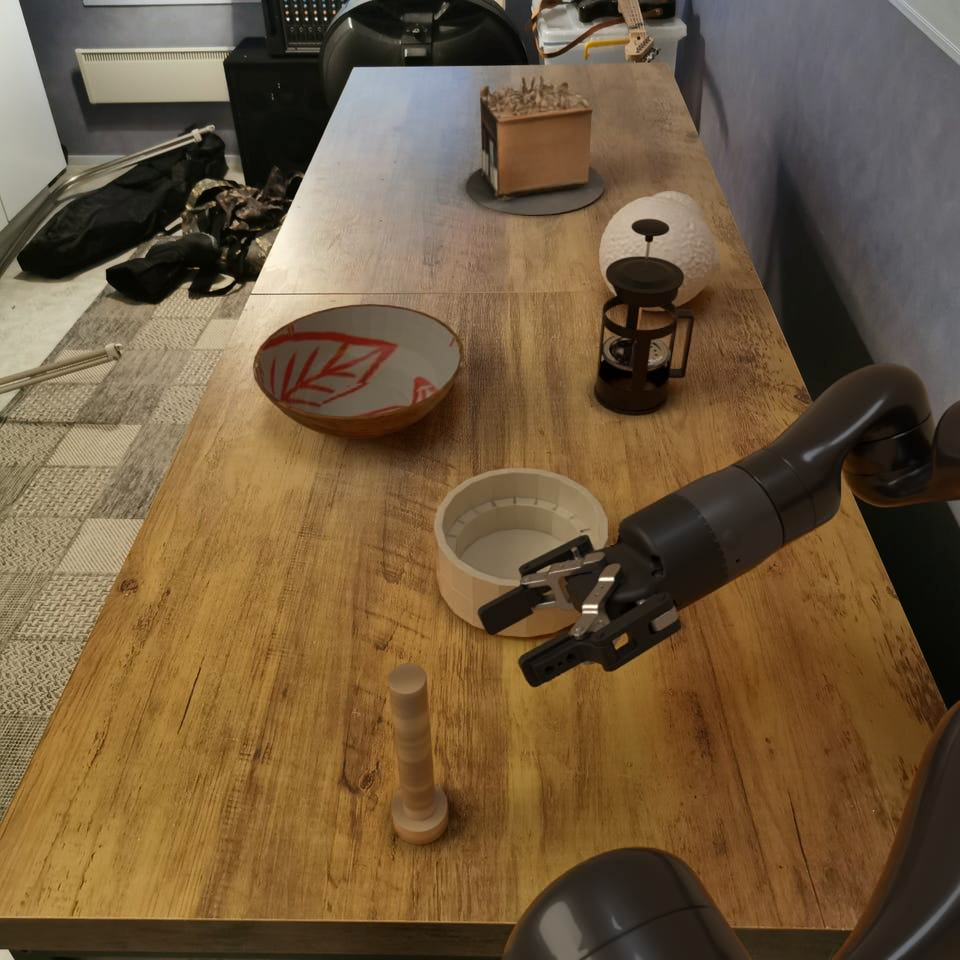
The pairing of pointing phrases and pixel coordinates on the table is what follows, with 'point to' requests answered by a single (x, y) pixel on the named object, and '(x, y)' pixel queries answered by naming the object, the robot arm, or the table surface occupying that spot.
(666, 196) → the decorative orb
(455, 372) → the bowl
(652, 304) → the french press
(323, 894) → the table surface
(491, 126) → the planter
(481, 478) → the cream open cylinder
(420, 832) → the wooden pestle
